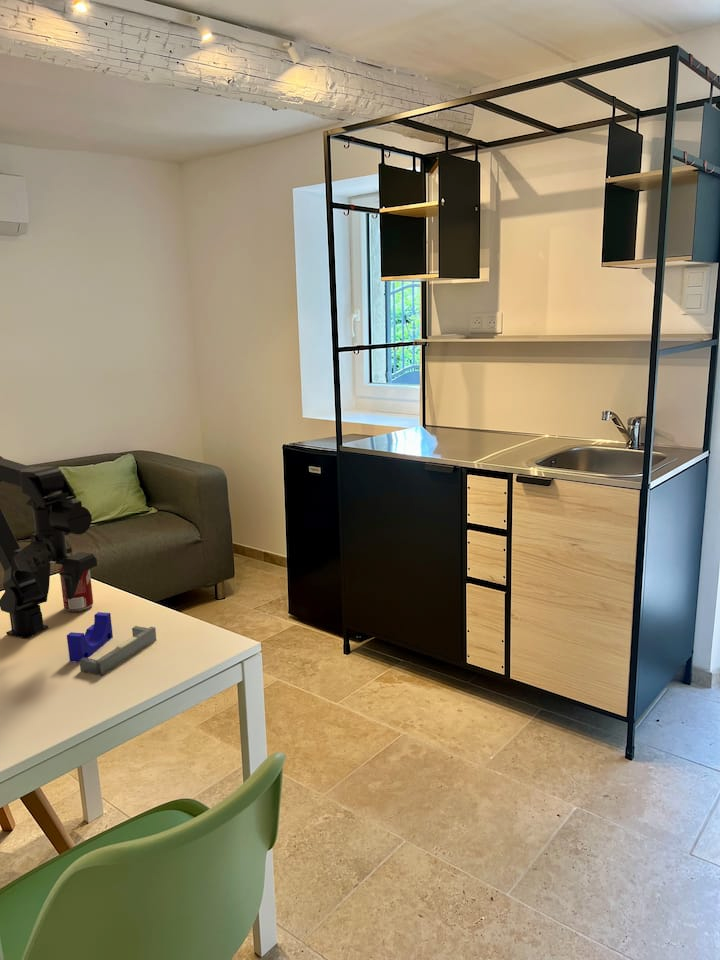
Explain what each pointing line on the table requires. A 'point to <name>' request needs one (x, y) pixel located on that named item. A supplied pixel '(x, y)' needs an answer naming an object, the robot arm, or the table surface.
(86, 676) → the table surface
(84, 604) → the soda can
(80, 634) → the cable clip
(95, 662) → the stop bracket
